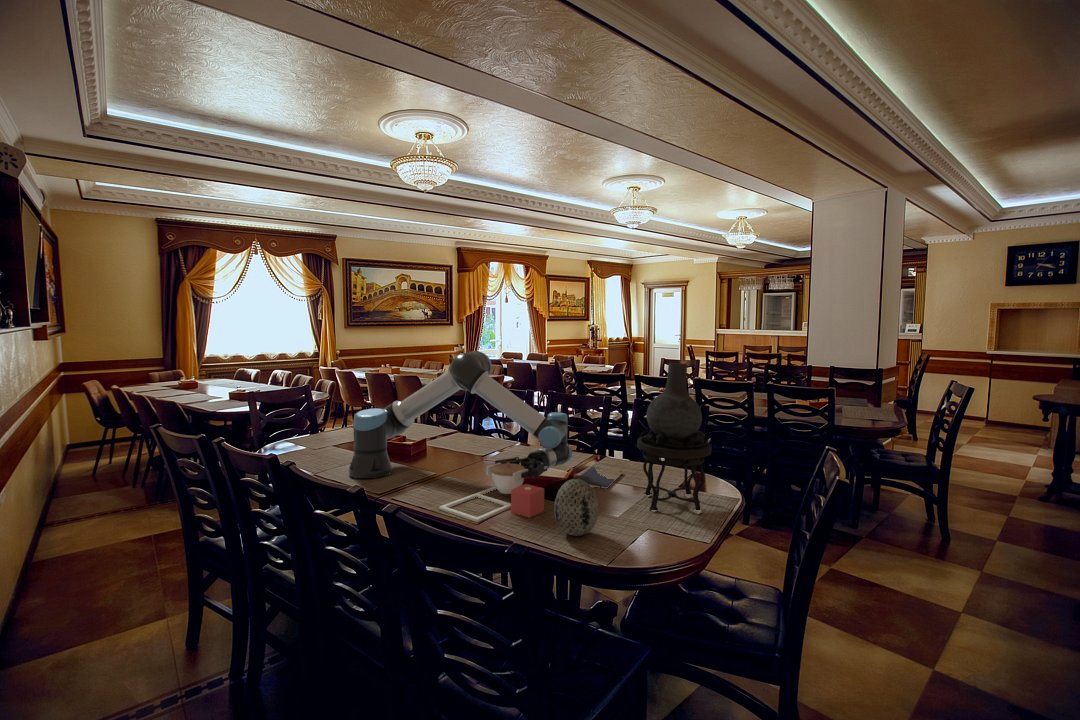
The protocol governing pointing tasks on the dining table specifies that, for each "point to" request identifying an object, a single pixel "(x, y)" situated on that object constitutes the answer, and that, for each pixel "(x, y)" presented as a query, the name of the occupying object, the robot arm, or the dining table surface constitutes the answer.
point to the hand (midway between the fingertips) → (500, 474)
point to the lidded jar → (506, 477)
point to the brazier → (674, 436)
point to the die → (527, 500)
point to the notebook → (595, 479)
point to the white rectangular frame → (479, 495)
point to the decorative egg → (576, 507)
